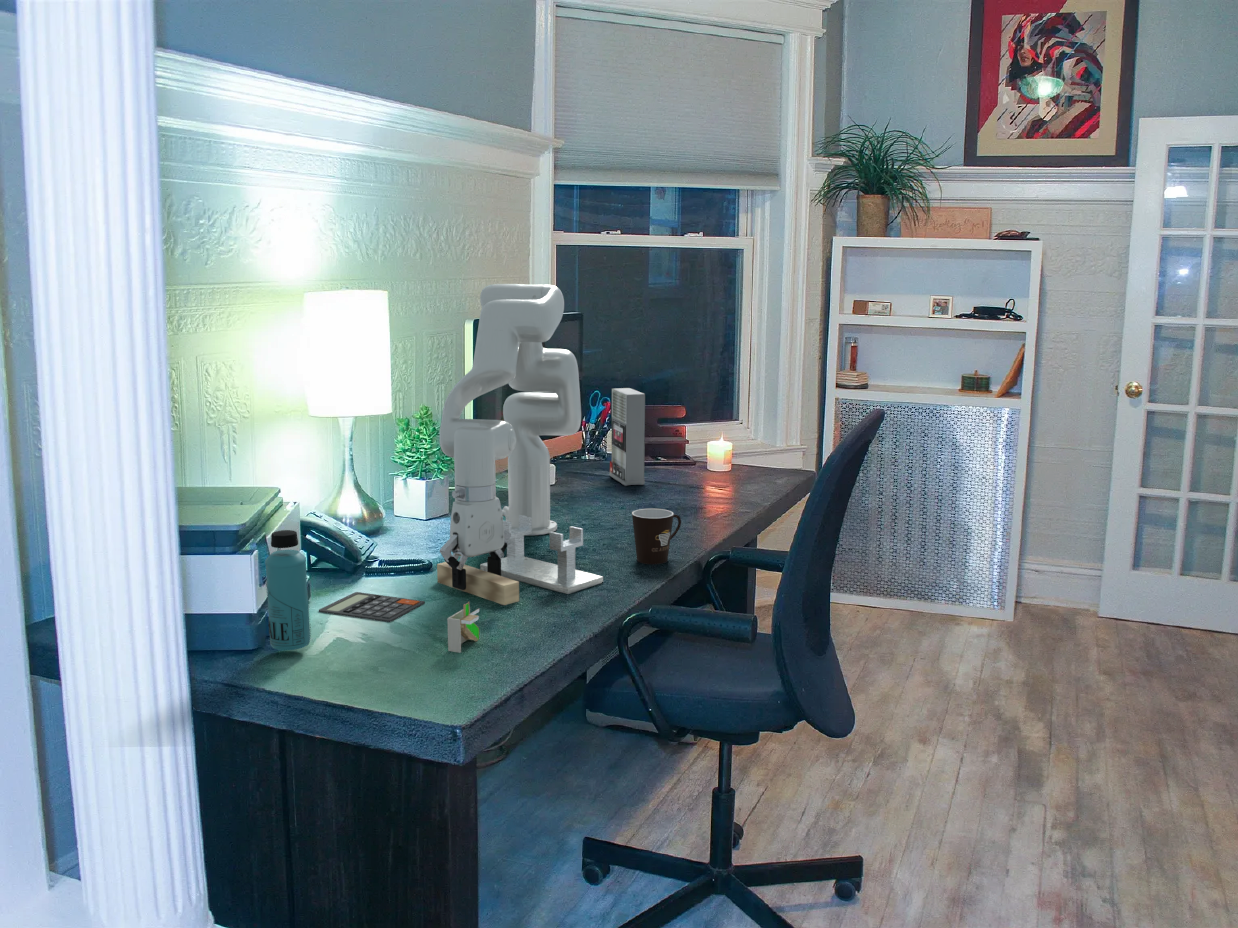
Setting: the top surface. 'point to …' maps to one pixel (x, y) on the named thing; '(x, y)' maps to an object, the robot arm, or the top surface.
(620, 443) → the cassette tape recorder
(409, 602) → the calculator
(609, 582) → the top surface
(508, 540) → the robot arm
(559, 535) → the bracket stand
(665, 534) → the coffee mug
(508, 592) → the rail
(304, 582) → the beverage bottle
